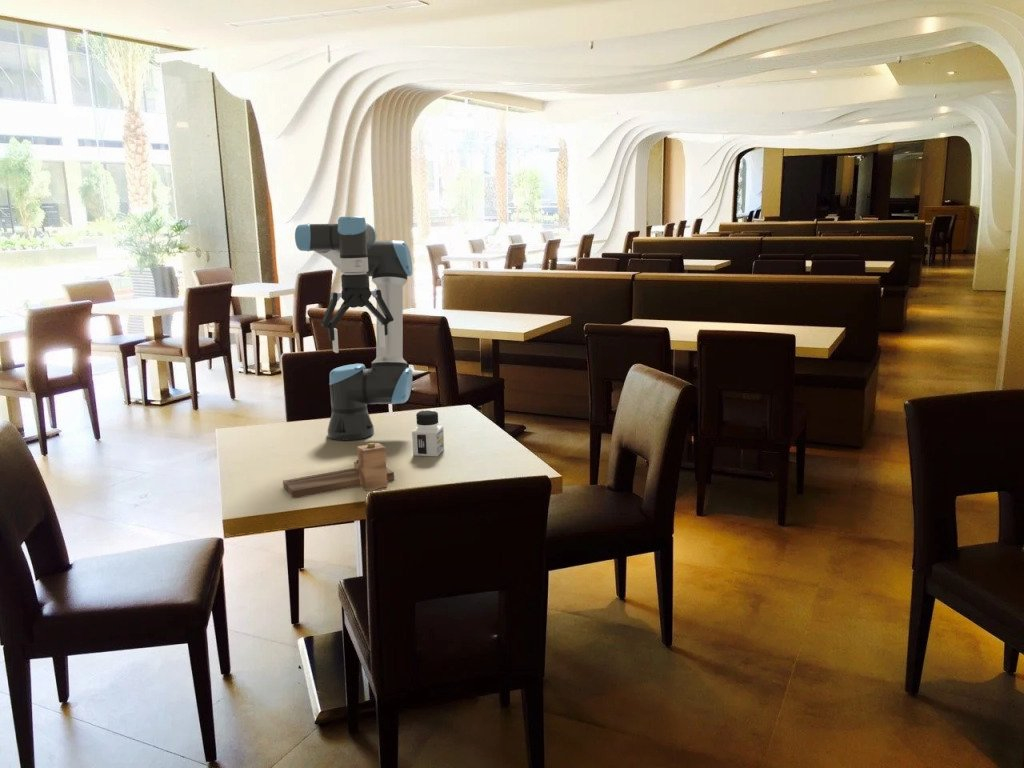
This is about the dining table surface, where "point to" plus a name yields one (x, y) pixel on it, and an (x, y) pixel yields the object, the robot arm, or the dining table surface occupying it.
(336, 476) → the board
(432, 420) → the container
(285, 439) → the dining table surface
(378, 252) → the robot arm
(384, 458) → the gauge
